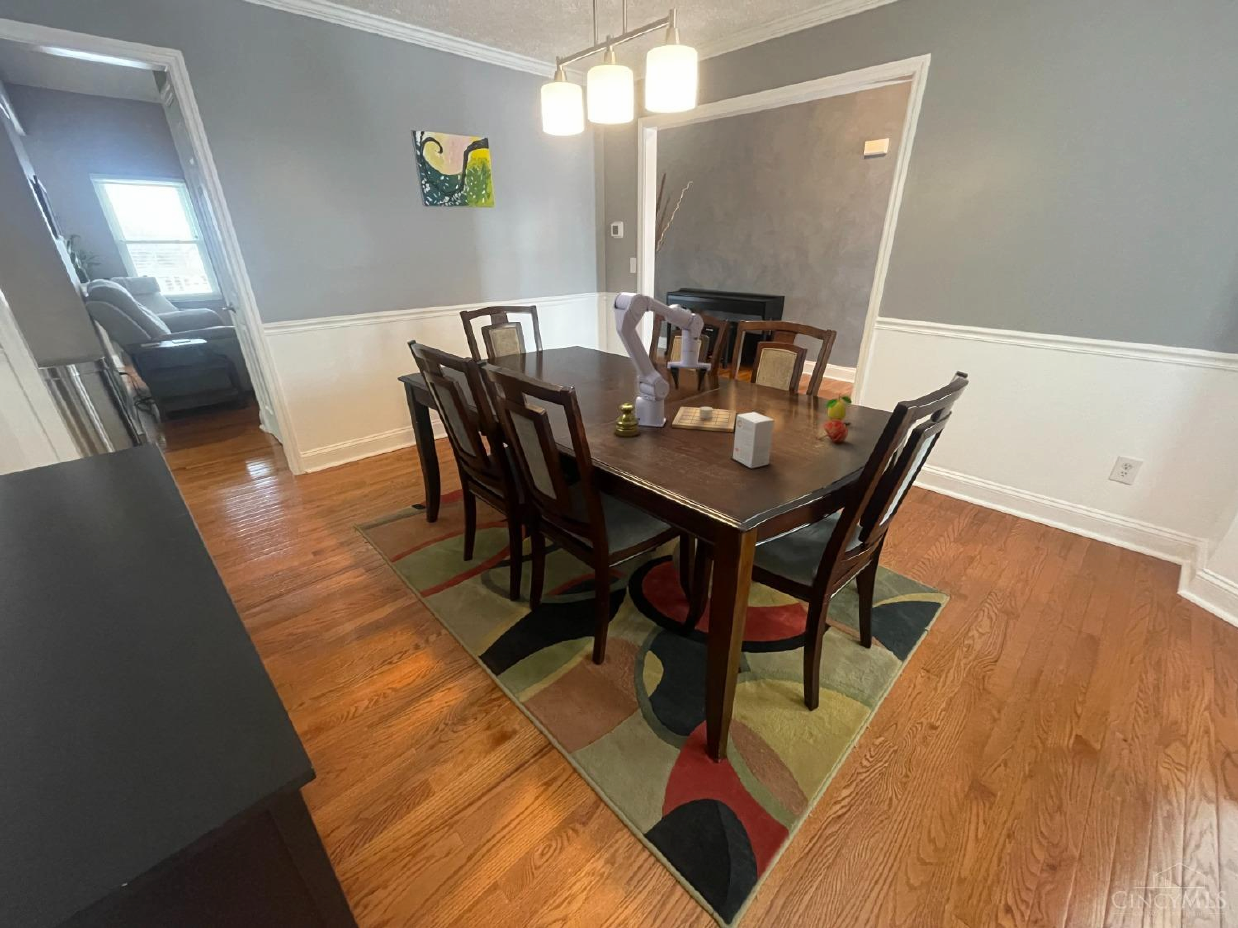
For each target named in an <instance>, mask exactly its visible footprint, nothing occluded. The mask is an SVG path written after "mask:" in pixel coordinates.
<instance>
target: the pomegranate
mask: <svg viewBox="0 0 1238 928" xmlns="http://www.w3.org/2000/svg"><path fill="white" fill-rule="evenodd" d="M850 425H852V423H851V422H844V421H843V420H837V419H829V420H828V421H826V423H824V425H823V429H824V431H825V432H826V435H824V436H822V437H820V438H819V440H822V439H825V438H826V437H828V438H829V439H830V440H831V442H832V443H834V444H838V443H842V442H843V441H845V440H846V439H847V437H848V435H849V429H848V426H850Z"/></svg>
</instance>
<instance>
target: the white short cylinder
mask: <svg viewBox="0 0 1238 928" xmlns="http://www.w3.org/2000/svg"><path fill="white" fill-rule="evenodd" d="M699 408H700V411H699V417H700V418H703V419H709V418H712V411H713V409H714V408H713V407H712V406H711V407H710V406H700V407H699Z"/></svg>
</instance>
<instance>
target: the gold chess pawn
mask: <svg viewBox="0 0 1238 928" xmlns="http://www.w3.org/2000/svg"><path fill="white" fill-rule="evenodd" d="M635 406H636V405H634V404H633V403H630V402H624V403H622V404H621V405H619V407H618V408H619V409H620V410H621V411H622V414H621V415H619V417H618V418H616V419H615V424H616V425H615V434H616V435H618V436H619V437H623V438H625V437H626V438H629V437H635V436H637V435H638V434H639V433H640V431H639V430H640V429H639V428H640V427H639V426H640V425H638V424H639V420H638V419H637V418H636V417H635V415H634V414H633V413H632V412H633V411H634V410H635Z"/></svg>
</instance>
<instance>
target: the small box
mask: <svg viewBox="0 0 1238 928" xmlns="http://www.w3.org/2000/svg"><path fill="white" fill-rule="evenodd" d="M774 423H775V420H774V419H772V418H770V417H768V416H765V415H763V414H760V413H758V412H756V411H752V412H746V413H740V414H736V419H735V429H734V430H735V432H734V441H733V442H734V443H733V454H732V459H733V460H735V461H737V462H739V463H741V464H743V465H744V466H746V467H748V468H750V469H755V468H759V467H763V466H767V465H769V464H770V458H771V457H770V456H771V448H772V440H773V432H774Z"/></svg>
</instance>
